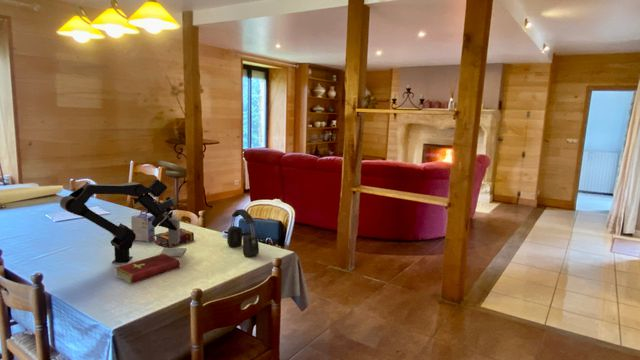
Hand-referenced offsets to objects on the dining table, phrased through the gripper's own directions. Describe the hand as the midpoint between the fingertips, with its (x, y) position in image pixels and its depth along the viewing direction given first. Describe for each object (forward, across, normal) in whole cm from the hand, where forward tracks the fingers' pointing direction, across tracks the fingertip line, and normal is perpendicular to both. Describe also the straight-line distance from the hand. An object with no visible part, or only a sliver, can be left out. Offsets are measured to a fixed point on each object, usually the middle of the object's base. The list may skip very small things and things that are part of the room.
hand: (177, 228), depth 177 cm
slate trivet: (+7, 0, +10) cm, 12 cm away
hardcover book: (+4, -20, +14) cm, 25 cm away
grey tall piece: (+4, 0, +6) cm, 7 cm away
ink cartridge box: (-6, +22, +23) cm, 32 cm away
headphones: (+29, +2, -12) cm, 32 cm away
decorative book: (+5, +17, +12) cm, 22 cm away
